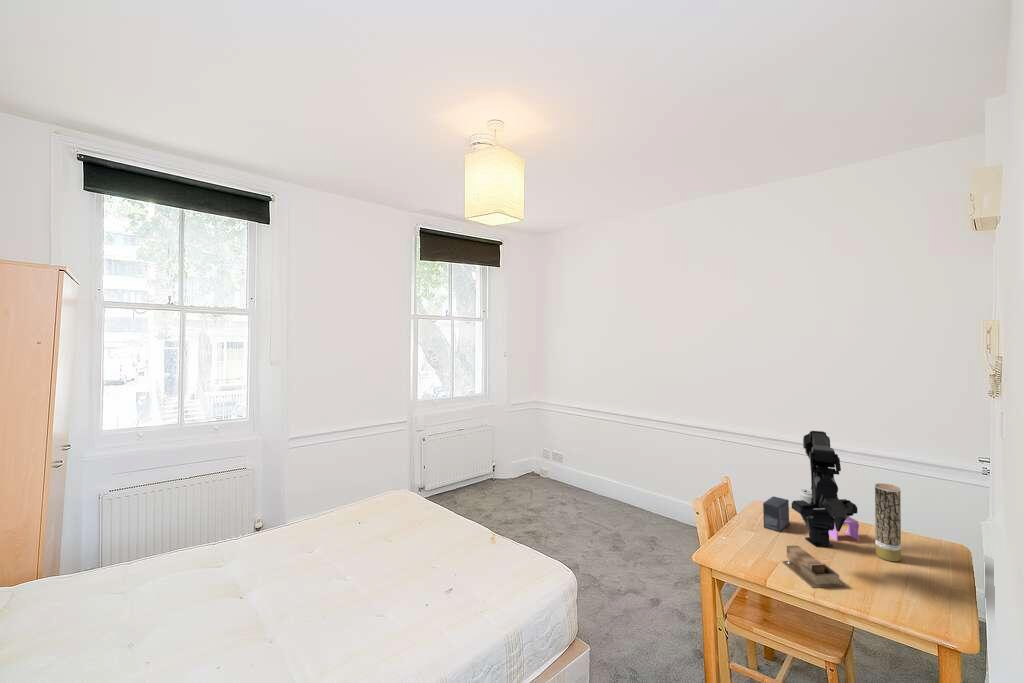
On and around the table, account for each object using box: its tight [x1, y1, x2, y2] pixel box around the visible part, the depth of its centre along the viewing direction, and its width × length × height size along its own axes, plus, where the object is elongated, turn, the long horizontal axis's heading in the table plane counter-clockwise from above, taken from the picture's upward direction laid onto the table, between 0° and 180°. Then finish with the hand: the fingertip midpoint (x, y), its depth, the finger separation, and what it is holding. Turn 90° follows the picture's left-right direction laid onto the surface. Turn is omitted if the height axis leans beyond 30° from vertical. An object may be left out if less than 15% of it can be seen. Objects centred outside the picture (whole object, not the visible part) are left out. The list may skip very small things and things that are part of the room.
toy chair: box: [829, 516, 860, 542], centre depth 172 cm, size 8×9×15 cm
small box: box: [762, 496, 790, 533], centre depth 183 cm, size 11×6×10 cm, turn 130°
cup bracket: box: [781, 560, 845, 589], centre depth 147 cm, size 15×10×4 cm, turn 1°
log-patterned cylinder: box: [874, 483, 902, 563], centre depth 156 cm, size 7×7×25 cm
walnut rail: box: [786, 545, 825, 574], centre depth 150 cm, size 13×4×4 cm, turn 0°
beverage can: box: [799, 488, 812, 520], centre depth 188 cm, size 6×6×12 cm
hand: (824, 531), depth 151 cm, fingers open, 9 cm apart
